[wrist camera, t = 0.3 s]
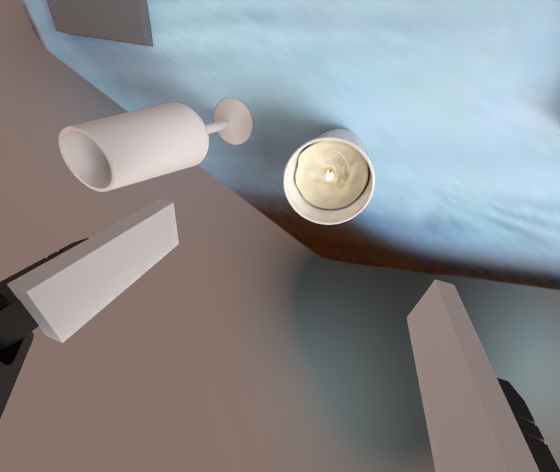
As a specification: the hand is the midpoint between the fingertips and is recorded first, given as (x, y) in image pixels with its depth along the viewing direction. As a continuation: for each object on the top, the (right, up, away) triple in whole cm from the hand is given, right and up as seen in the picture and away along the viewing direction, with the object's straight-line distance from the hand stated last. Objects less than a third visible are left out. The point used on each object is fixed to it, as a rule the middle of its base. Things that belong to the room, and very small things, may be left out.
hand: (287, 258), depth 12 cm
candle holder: (+8, +13, +23) cm, 28 cm away
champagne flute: (-8, +19, +25) cm, 32 cm away
